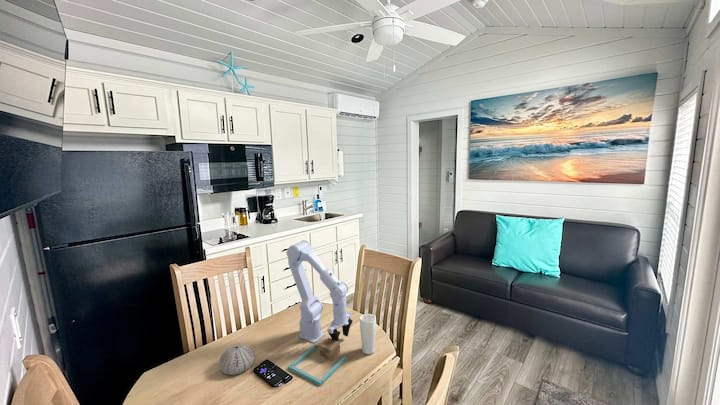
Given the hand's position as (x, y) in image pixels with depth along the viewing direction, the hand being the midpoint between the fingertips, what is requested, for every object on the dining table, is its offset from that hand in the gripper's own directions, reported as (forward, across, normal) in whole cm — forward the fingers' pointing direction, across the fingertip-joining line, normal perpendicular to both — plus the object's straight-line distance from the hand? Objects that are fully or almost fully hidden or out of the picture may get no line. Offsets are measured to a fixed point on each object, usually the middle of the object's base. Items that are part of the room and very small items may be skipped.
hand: (340, 339), depth 128 cm
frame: (+2, -15, 0) cm, 15 cm away
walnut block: (+2, -8, 0) cm, 8 cm away
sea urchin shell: (+2, -32, +27) cm, 42 cm away
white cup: (+2, +2, -13) cm, 13 cm away
